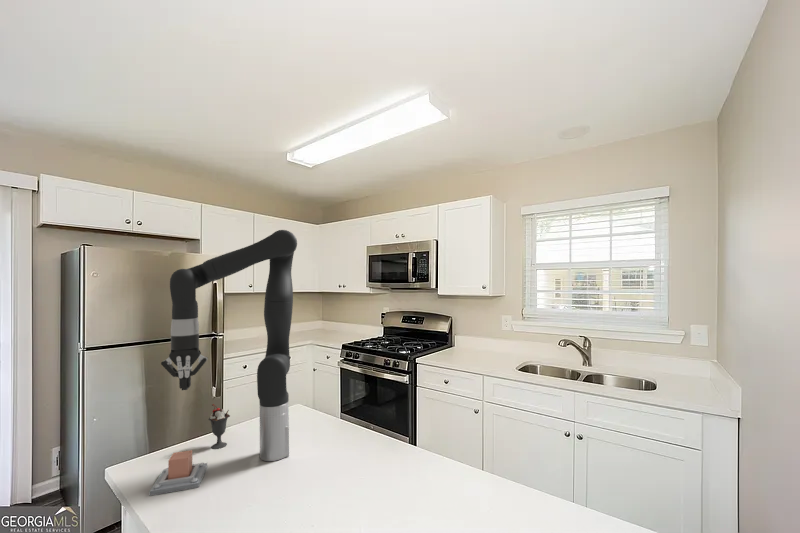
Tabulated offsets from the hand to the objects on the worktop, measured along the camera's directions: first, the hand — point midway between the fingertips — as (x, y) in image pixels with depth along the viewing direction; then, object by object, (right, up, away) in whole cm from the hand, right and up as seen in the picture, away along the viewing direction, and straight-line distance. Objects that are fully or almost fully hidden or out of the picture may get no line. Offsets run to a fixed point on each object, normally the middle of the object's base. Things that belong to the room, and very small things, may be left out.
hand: (185, 389), depth 113 cm
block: (+2, -24, -6) cm, 24 cm away
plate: (+2, -25, -6) cm, 25 cm away
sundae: (+2, -26, +16) cm, 31 cm away
